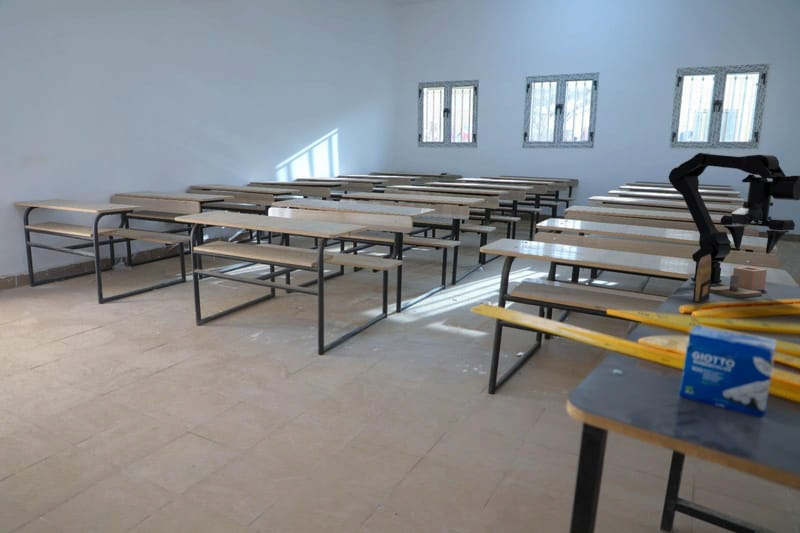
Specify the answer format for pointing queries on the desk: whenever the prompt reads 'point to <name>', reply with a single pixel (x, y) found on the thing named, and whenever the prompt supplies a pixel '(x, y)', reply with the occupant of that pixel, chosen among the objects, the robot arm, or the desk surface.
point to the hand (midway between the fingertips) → (752, 251)
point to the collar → (750, 278)
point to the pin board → (735, 293)
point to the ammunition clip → (703, 280)
